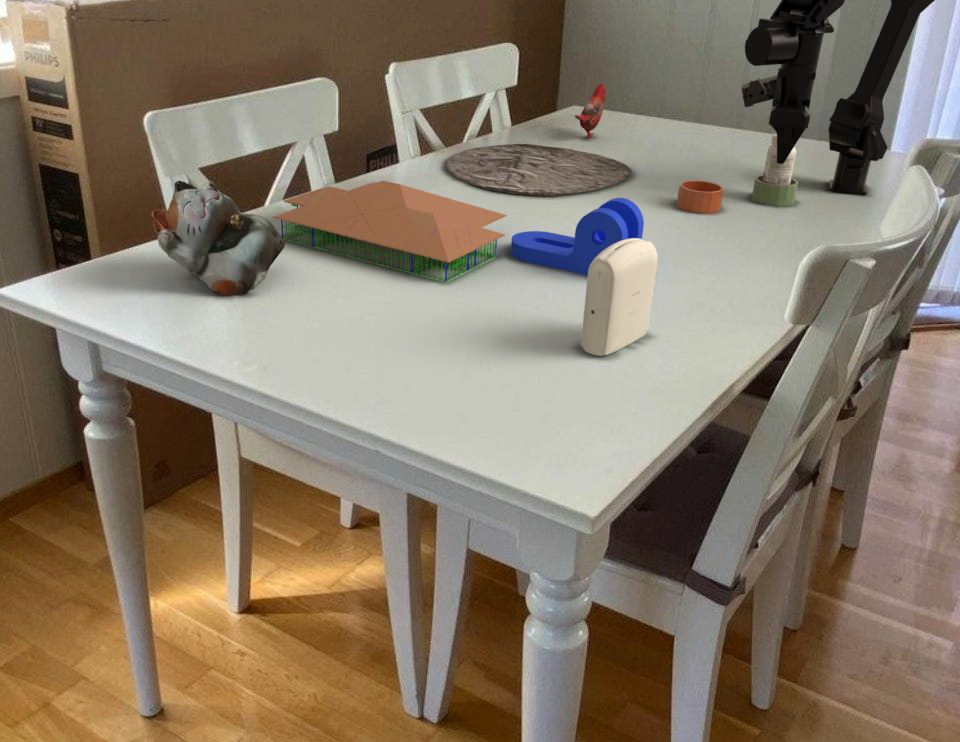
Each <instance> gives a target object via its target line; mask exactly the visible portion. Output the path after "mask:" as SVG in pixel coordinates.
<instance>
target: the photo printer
mask: <svg viewBox="0 0 960 742" xmlns="http://www.w3.org/2000/svg"><path fill="white" fill-rule="evenodd" d="M658 260H659V259H658V251H657V249H656V246H655V245H654V243H653V242H652V241H648V240H644V239H643V238H642V239H639V238H630V239H625V240H622V241H619V242H617V243H615V244H613V245H611V246H609V247H608V248H606V249H605V250H603V251H602V252H601V253H600V254H599V255H598V256H597V257H596V258H595V259H594V260H593V261H592V263H591V264H590V266H589V270H588V275H587V279H586V288H585V297H584V310H583V319H582V328H581V336H580V346H581V347H582V348H583V351H584V352H586V353H588V354H590V355H593V356H596V357H603V356H608V355H611V354H613V353H615V352H617V351H620V350H621V349H623V348H625V347H627V346H629V345H631V344H632V343H634V342H636V341H637V340H639V339H641V338H642V337H644V336H645V335H647V333H648V329H649V324H650V317H651V311H652V304H653V296H654V290H655V281H656V274H657V267H658Z"/></svg>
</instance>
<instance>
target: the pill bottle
mask: <svg viewBox="0 0 960 742" xmlns="http://www.w3.org/2000/svg"><path fill="white" fill-rule="evenodd" d="M771 144H772V145H770V146H769V147H768V148H767V153H766V159H765V164H764V170H763V174H762V175H763V180H762V182H764V183H768V184H773V185H790V182H791V178H792V176H793V171H794V167H795V161H796V156H797V148H796V147H794V148H793V149H792V151H791V152H790V154H789V156H788V157H787V159H786V161H785V162H784V164H778V163H777V133H776V132H775V133H773V134H772V138H771Z"/></svg>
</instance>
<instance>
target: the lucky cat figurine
mask: <svg viewBox="0 0 960 742" xmlns="http://www.w3.org/2000/svg"><path fill="white" fill-rule="evenodd" d="M150 213H151V218H152V219H153V221H152V222H153V224H152V225H153V228H154V232H155V233H156V235H157V242H158V244H157V245H158V247H159V248H160V249H161V250H162V251H163V252H164V253H165V254H166V255H167V256H168V258H170V259H171V260H173V261H174V262H175V263H177V264H179V266H181V267H182V268H183V269H186V270H187V271H189V272H190V273H191V274H193V276H195V277H197V278H198V279H199V280H200V281H202V282H203V283H205V285H206V286H207V287H208V288H209V289H210V290H211V291H212V292H214V293H215V294H218V295H221V296H222V297H224V296H239V295H240V296H245V295H247V294H248V293H249V292H250V291H253V290H255V289H256V287H258V286H259V285H260V284H262V283H263V282H264V281H265V280H266V278H267V275H268V272H269V270H270V267H271V266H272V265H273V263H274V262H275V261H276V259H277V258H278V257H279V255H280V254H281V253H282V251H283V250H284V249H285V246H286V244H287V240H285V239H286V238H285V237H284V236H283V237H282V235H280V233H279V232H278V230H277V228H276V227H275V225H274V224H273V223H272V222H271V221H270V220H268V219H267V218H265V217H263V216H261V215H259V214H253V213H249V214H248V213H241V212H240V208H239V207H238V205H237V203H236V202H234V201H233V199H232V198H231V197H229V196H228V195H226V194H224V193H222V192H219V188H218V187H217V185H216V183H214V182H213V181H212V180H208V181H205V182H204V184H203V185H202V186H201V188H198V187H195V186H192V185H191V184H189V183H188V182H186V181H182V180H177V181H175V182H174V190H173V194H172V198H171V200H170V203H169V206H168V208H167V210H166V208H163V209H157V208H156V209H154V210H152V211H151V212H150Z"/></svg>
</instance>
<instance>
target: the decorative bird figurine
mask: <svg viewBox="0 0 960 742" xmlns="http://www.w3.org/2000/svg"><path fill="white" fill-rule="evenodd" d="M606 91H607V90H606V86H605V84H604V83H600V84H598V85H597V86H596V88H595V89H594V91H593V93H592V95H591V98H590V99H589V101H587V103H586V105H584V108H583V109H582V111H581V112H580V114H576V115H574V118H575V119H576V120H579V125H580V127H581V128H582V129H583V130H584V131H585V132H586V133H587V135H586V137H585V139H587V140H588V139H589V138H592V137H593V136H594V134H595V132H592V133H591V131H594V130H595V128H596V127H597V126H598V125H599V123H600V121H601V119H602V115H603V112H604V107H605V100H606V94H607V93H606Z"/></svg>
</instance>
